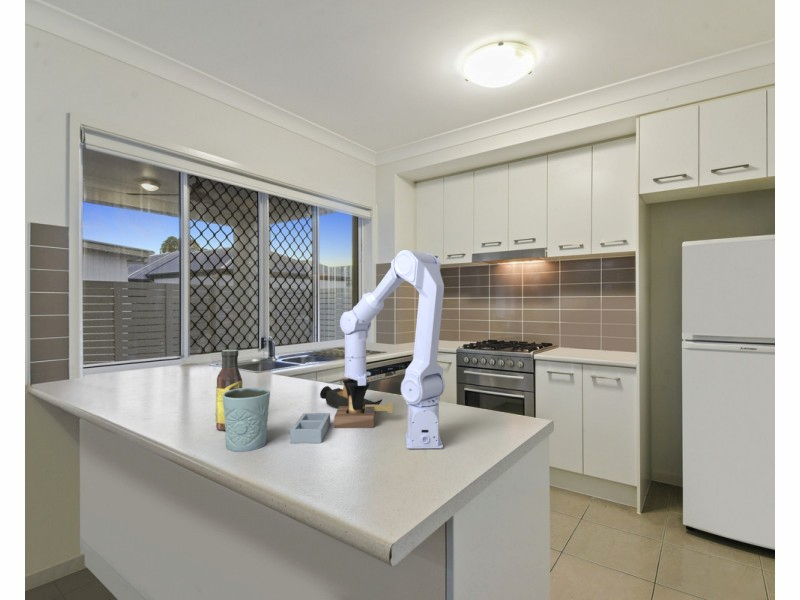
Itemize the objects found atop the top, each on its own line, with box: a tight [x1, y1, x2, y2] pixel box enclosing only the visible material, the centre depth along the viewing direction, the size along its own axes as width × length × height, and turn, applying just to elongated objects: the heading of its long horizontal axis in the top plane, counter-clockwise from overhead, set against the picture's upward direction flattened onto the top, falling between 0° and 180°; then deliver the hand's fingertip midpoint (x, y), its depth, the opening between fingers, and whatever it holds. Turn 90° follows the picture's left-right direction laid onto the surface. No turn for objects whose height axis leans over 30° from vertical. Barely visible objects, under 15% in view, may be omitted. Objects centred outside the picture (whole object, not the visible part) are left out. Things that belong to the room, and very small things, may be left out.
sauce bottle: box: [215, 349, 243, 431], centre depth 107 cm, size 7×6×20 cm
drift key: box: [365, 402, 393, 414], centre depth 111 cm, size 3×7×2 cm, turn 91°
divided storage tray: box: [289, 412, 331, 444], centre depth 102 cm, size 14×7×3 cm, turn 1°
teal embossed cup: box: [223, 387, 271, 453], centre depth 94 cm, size 10×10×12 cm
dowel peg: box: [349, 395, 362, 413], centre depth 111 cm, size 4×4×7 cm
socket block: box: [333, 404, 376, 429], centre depth 111 cm, size 10×10×4 cm
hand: (355, 407), depth 111 cm, fingers closed on dowel peg, 4 cm apart
